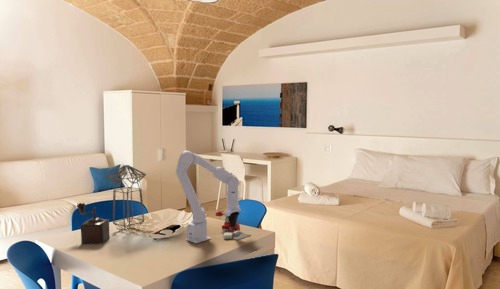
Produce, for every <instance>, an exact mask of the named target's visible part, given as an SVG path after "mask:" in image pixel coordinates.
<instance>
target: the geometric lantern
mask: <svg viewBox="0 0 500 289" xmlns="http://www.w3.org/2000/svg"><path fill="white" fill-rule="evenodd" d="M115 173H116V174H115ZM114 174H115V175H114ZM128 174H129V175H130V177H127V175H128ZM146 176H147V174H146V173H145V172H143V171H142V170H141V171H140V170H139V169H137V168H135V167H133V166H131V165H129V164H124V165H123V166H121V167H119V168H118V169H116V170H115V171H113V172H111V173H109V174H108V175H106V178H108V179H109V180H110V181H111V182H112V183H113V185H114V189H113V191H112V192H113V194H112V195H113V199H112V200H113V201H112V211H113V212H112V224H113V225H115V226H116V225H118V226H121V227H123V228H127V227H129V228H130V227H133V226H134V225H135V224H138V225H139V224H140V226H141V225H142V224H143V223H145V218H144V216H145V215H144V203H143V192H142V189H143V188H142V184H141V180H142V179H143V178H145V177H146ZM130 179H131V180H132V181H131V180H130ZM124 180H127V181H128V182H130V183H131V186H130V187H129V186H128V184H127V183H126V182H125V181H124ZM121 182H124V184H125V185H126V187H121V185H120V183H121ZM134 184H137V186H138V188H137V187H133V185H134ZM117 185H118V187H119V188H118V189H116V188H117ZM123 189H125V190H126V189H127V191H126V192H125V191H124V190H123ZM134 189H136V190H134ZM132 190H133V191H132ZM133 192H139V199H140V207H141V215H142V218H137V217H134V208H133V207H134V206H133ZM116 193H121V194H122V196H123V198H122V201H123V202H122V204H123V206H122V207H123V218H122V219H121V218H120V219H118V220H115V216H116V213H115V212H116ZM129 193H130V199H131V200H130V202H131V217H130V206H129ZM125 194H126V200H127V202H126V206H127V207H126V206H125ZM125 207H126V208H125ZM125 209H126V210H125ZM125 211H126V214H125ZM125 216H126V217H125ZM133 219H134V220H138V221H139V222H136V223H132V221H133ZM126 220H127V222H128V223H129V224H128V225H125V224H126V222H125V221H126ZM121 221H123V224H120V223H117V222H121ZM130 222H131V224H130ZM135 226H136V225H135ZM129 228H128V229H129ZM123 231H124V230H120V232H121V233H124V232H123Z"/></svg>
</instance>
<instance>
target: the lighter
mask: <svg viewBox="0 0 500 289" xmlns="http://www.w3.org/2000/svg"><path fill="white" fill-rule="evenodd" d="M239 232H240V231H235V232H234V231H232V232H224V234H223V235H222V237H223V239H227V240H229V239H231V240H233V239H232V237H233V236H237V235H239Z"/></svg>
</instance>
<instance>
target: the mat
mask: <svg viewBox="0 0 500 289" xmlns="http://www.w3.org/2000/svg"><path fill="white" fill-rule="evenodd" d="M247 236H248V237H251V236H252V235H251V234H248V233H245V232H241V231H239V235H237V236H233V237H232V239H231V240H234V241H240V240H242V239H245V238H247ZM239 239H240V240H239Z"/></svg>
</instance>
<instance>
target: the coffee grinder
mask: <svg viewBox="0 0 500 289" xmlns="http://www.w3.org/2000/svg"><path fill="white" fill-rule="evenodd" d="M76 207H77V209H78V210H79V213H80V215H90V214H93V217H91V218H90V219H88V220H86V221H84V222H83V223H82V224H80V237H81V238H80V239H81V242H80V243H81V245H103V244H104V243H105V242H106V241H108V240H109V239H110V237H111V236H110V219H109V218H108V219H106V218H105V219H104V218H101V217H99V215H97V213H96V212H97V210H96V209H97V208H96V207H93V208H92V209H93V210H92V211H87V212H86V209H85V207H86V203H84V202H80V203H78V204H76Z"/></svg>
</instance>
